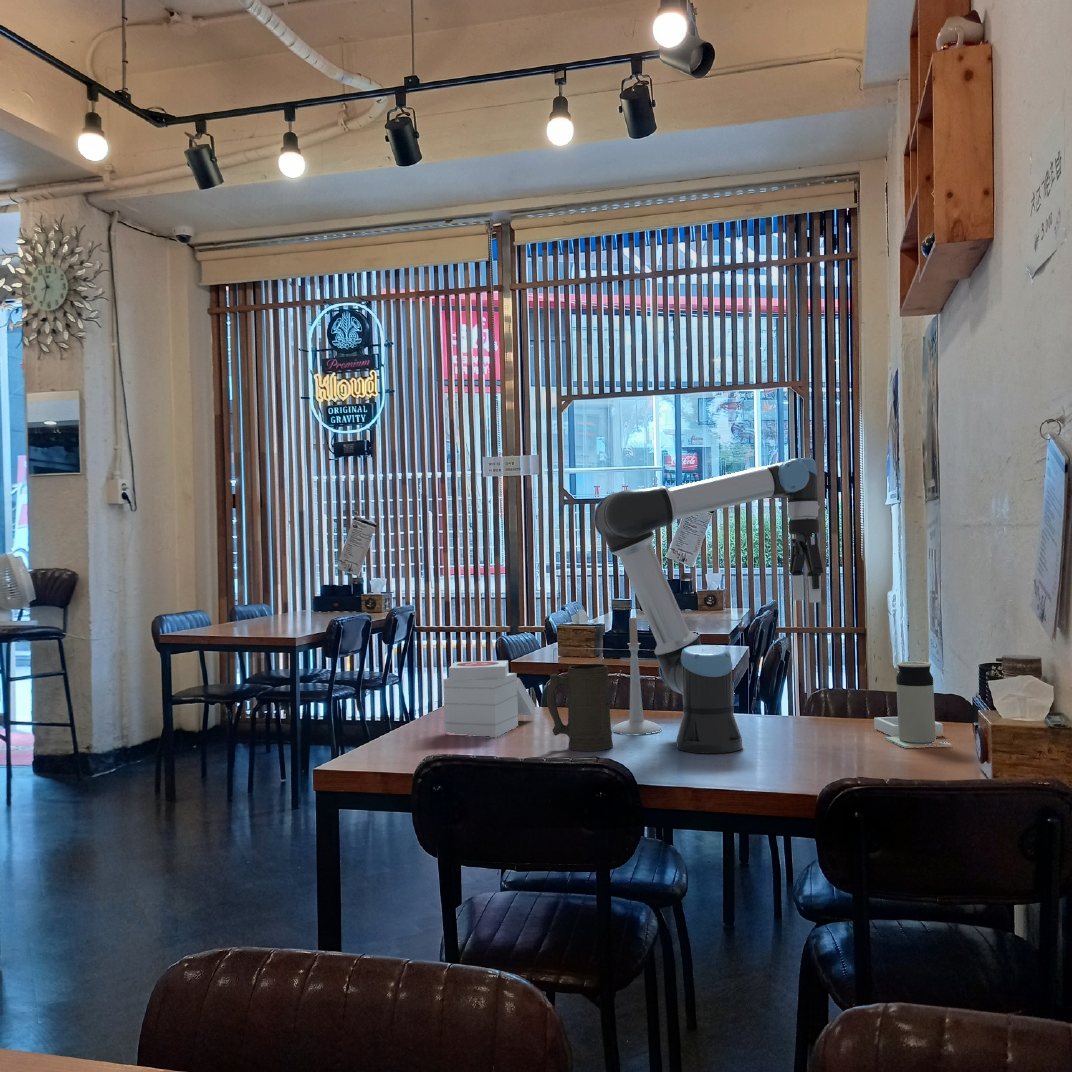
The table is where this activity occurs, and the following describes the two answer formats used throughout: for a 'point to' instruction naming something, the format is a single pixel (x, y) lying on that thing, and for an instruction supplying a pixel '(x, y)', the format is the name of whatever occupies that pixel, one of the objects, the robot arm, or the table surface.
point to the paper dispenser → (484, 699)
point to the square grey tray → (891, 725)
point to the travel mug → (915, 703)
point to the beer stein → (583, 707)
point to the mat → (905, 744)
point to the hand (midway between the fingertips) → (806, 601)
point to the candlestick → (635, 693)
